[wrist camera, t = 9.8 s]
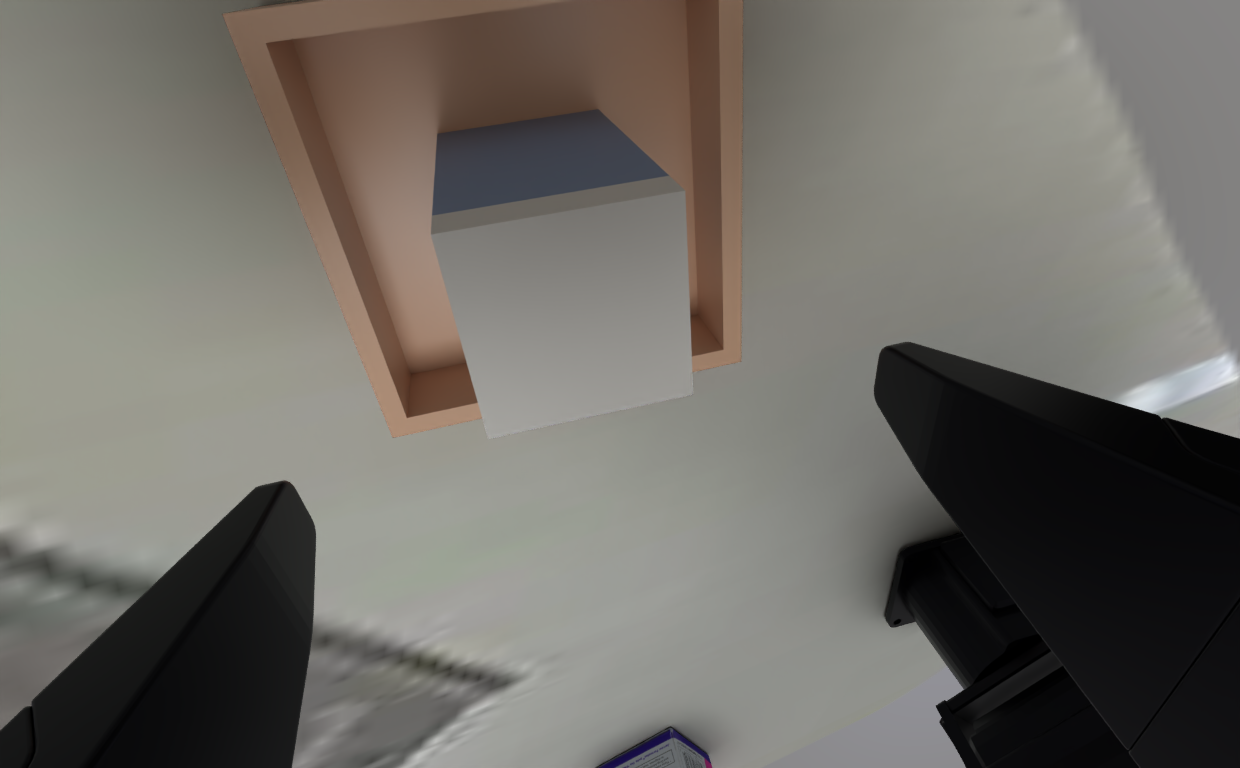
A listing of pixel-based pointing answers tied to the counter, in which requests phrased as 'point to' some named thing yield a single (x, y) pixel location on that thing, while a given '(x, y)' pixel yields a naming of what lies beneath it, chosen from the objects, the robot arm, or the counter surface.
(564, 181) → the block
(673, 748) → the supplement box
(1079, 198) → the counter surface
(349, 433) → the counter surface
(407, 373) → the bin
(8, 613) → the counter surface
